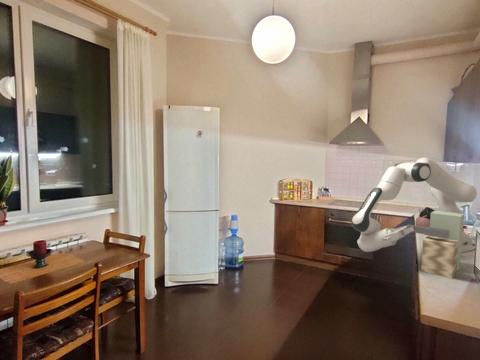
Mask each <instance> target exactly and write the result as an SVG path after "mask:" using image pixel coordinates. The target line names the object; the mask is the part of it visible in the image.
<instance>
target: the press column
mask: <svg viewBox="0 0 480 360" xmlns="http://www.w3.org/2000/svg"><path fill="white" fill-rule="evenodd" d="M464 218H465V213H462V214H460V213H451V212H443V211H440V210H435V211H434V212H432V213H431V216H430V227H431V228H438V229H445V230H450V237H449V238H448V239H451V240H457V241H458V250H457V264H456V272H457V271H458V270H459V268H460V267H461V260H462V259H461V258H462V252H461V248H462V235H463V225H464ZM433 237H434V236H433ZM439 238H440V237H439ZM445 239H446V238H445Z"/></svg>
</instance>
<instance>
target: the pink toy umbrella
mask: <svg viewBox="0 0 480 360" xmlns="http://www.w3.org/2000/svg"><path fill="white" fill-rule="evenodd" d="M425 217H427V215H426V216H423V217H419V216H417V217H416V219H415V222H414V223H415V226H421V227H430V219H427V218H425Z"/></svg>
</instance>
